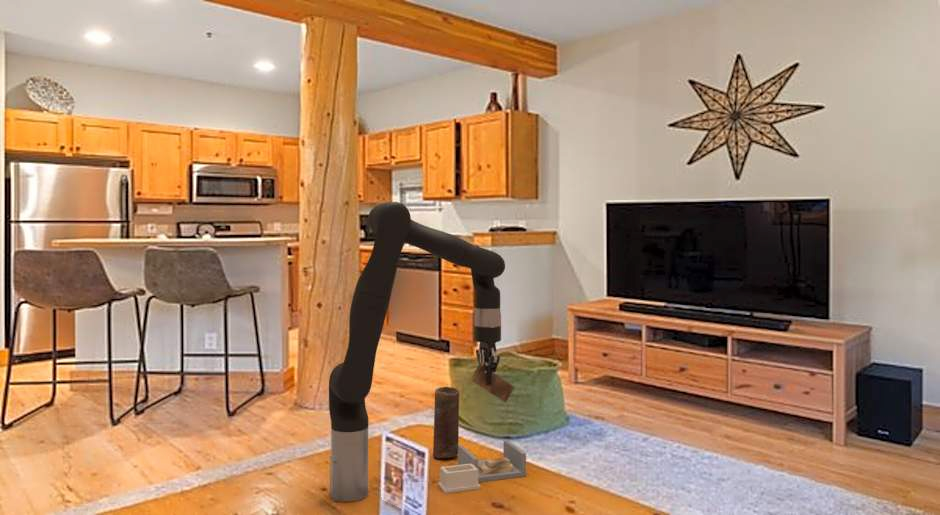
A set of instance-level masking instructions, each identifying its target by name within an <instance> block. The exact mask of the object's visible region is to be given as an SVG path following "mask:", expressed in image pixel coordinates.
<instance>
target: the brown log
mask: <svg viewBox="0 0 940 515" xmlns="http://www.w3.org/2000/svg"><path fill="white" fill-rule="evenodd" d="M433 413H434V417H433V418H434V419H433V447H432V449H433V450H432V451H433V453H432V456H433V457H434V458H437V459H447V460H448V459H449V460H450V459H453V458H454V457H457V456H458V445H459V434H460V433H459V432H460V431H459V427H460V426H459V423H460V422H459V419H460V417H459V416H460V390H458V389H457V388H455V387H451V386H443V387H440V386H439V387H438V388H436V389H435V390H434V412H433Z"/></svg>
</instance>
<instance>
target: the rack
mask: <svg viewBox="0 0 940 515" xmlns="http://www.w3.org/2000/svg"><path fill="white" fill-rule="evenodd" d="M503 457H506V458H507V459H509V460H510V463H511V464H512V465H513V466H514V471H512V472H504V473H495V474H487V475H482V474H481V473H480V472H479V471H478V483H483V482H491V481H499V480H506V479H507V480H508V479H514V478H522V477H523V478H524V477H527V453H526V452H525V451H524V450H522V449H521V448H520V447H518V446H517V445H515V444H513V443H512V442H511V441H509V440H508V439H503ZM503 457H502V458H503ZM489 459H490V458H489ZM489 459H488V458H487V459H482V460H481V459H480V460H479V458H478V457H476V456H475V455H474V454H473V453H472V452H471V451H470V450H469V449H467V447H465V445H463V444H458V454H457V465H463V464H471V463H472V464H473V465H474V466H475V467H476V468H477V469H478V466H482V465H486V460H489Z"/></svg>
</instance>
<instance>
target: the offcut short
mask: <svg viewBox="0 0 940 515" xmlns="http://www.w3.org/2000/svg"><path fill="white" fill-rule="evenodd" d="M485 460H486V466H487V467H488V468H490V469H491V468H498V467H505V466H510V460H509V459H507V458H506V457H497V458H496V457H495V458H489V460H487V459H485Z"/></svg>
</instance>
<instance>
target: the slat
mask: <svg viewBox="0 0 940 515" xmlns="http://www.w3.org/2000/svg"><path fill="white" fill-rule="evenodd" d="M484 371H485V367H484V366H482V365H480V364H479V363H478V365H477V367H476V369H475V371H474V372H473V373H472V375H471V378H470V379H469V380H470V381H471V382H473V383H474V384H476V385H477V386H479V387H481V388H482V389H484V390H485V391H487V392H488V393H489V394H491V395H492V396H495V397H496V398H498V399H499V400H501V401H502V402H503V403H507V402H508V400H509V398H510V397H511V394H512V393H513V392H514V390H515V388H516V387H515V386H514V385H512V384H511V383H510V382H508V381H506V380H505V379H503V378H502V377H500V376H498V374H495V372H493V373H492V385H486V374H485V372H484Z"/></svg>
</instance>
